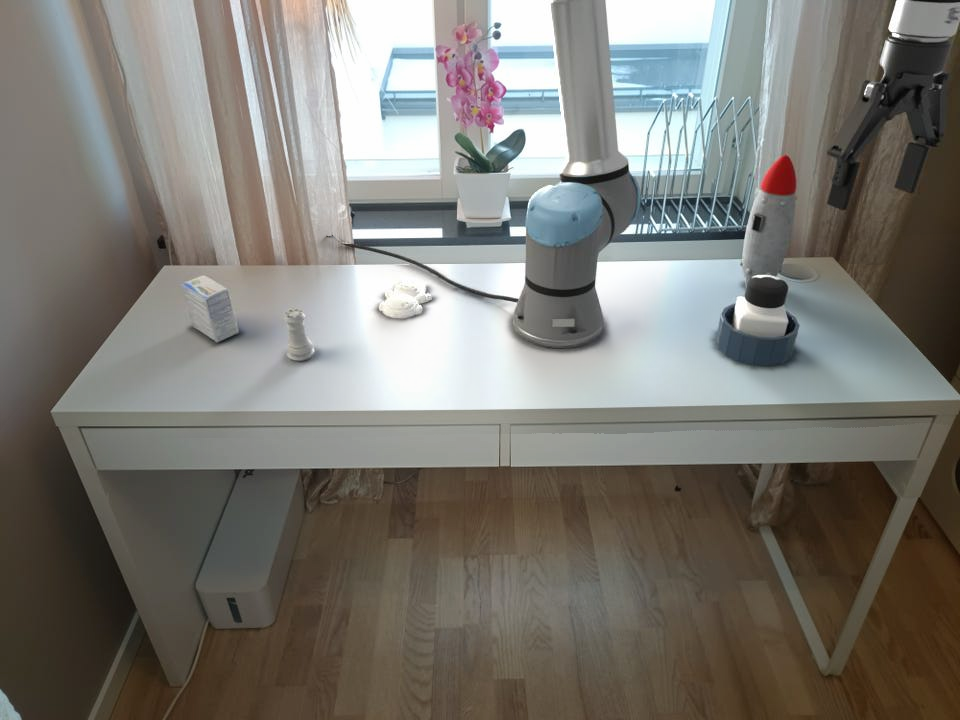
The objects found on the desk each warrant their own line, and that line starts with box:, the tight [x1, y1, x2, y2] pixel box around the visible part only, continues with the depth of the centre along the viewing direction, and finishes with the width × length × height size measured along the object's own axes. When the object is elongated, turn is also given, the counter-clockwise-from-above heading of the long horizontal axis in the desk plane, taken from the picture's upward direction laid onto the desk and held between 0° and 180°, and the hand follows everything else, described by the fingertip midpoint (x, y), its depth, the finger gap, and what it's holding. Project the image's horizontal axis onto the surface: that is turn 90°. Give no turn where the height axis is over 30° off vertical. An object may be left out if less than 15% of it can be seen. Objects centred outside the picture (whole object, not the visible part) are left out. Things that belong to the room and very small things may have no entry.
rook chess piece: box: [283, 307, 315, 362], centre depth 118 cm, size 4×4×8 cm
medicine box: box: [181, 275, 239, 343], centre depth 125 cm, size 8×4×9 cm, turn 47°
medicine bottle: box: [731, 275, 789, 338], centre depth 118 cm, size 7×7×12 cm
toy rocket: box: [739, 154, 798, 288], centre depth 131 cm, size 8×8×25 cm
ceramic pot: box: [715, 302, 800, 367], centre depth 120 cm, size 12×12×5 cm
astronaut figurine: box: [378, 280, 433, 319], centre depth 134 cm, size 9×12×3 cm
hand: (871, 198), depth 104 cm, fingers open, 13 cm apart
